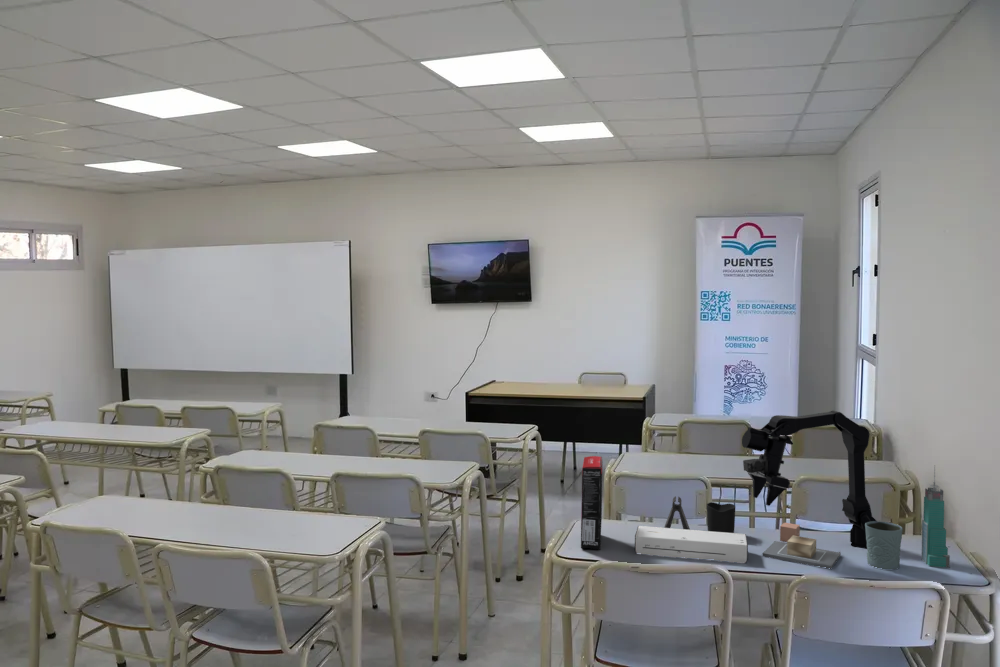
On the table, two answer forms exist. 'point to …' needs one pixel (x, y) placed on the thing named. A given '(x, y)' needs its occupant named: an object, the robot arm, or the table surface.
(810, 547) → the oak base block
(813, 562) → the grey flat plate
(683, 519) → the pliers
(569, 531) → the table surface
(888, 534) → the green embossed cup
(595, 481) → the graphics card box
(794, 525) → the terracotta block
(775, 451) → the robot arm
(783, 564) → the table surface
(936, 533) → the building
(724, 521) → the pen holder
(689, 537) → the laminator
